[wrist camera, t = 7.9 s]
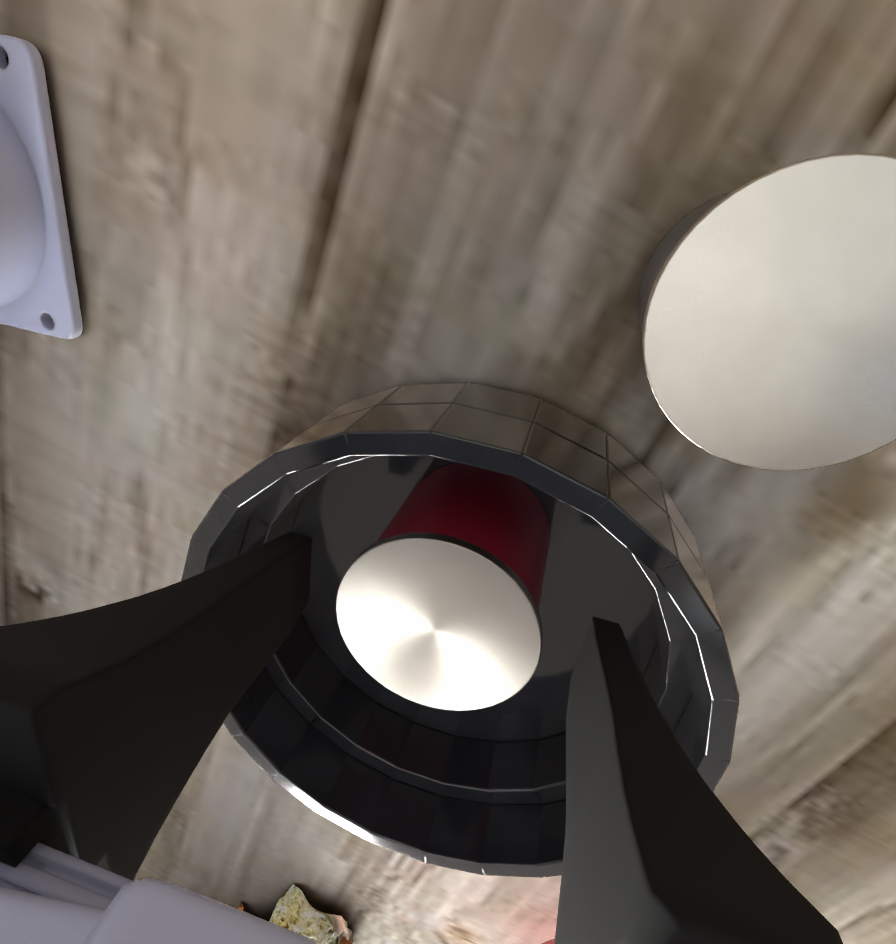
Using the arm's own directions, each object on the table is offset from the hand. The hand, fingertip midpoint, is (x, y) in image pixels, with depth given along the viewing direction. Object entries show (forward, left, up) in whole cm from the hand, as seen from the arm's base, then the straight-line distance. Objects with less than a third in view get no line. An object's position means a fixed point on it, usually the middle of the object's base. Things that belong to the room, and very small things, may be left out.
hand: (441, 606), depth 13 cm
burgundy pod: (0, 0, -4) cm, 4 cm away
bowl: (0, -3, -4) cm, 5 cm away
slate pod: (+5, +8, -4) cm, 10 cm away
